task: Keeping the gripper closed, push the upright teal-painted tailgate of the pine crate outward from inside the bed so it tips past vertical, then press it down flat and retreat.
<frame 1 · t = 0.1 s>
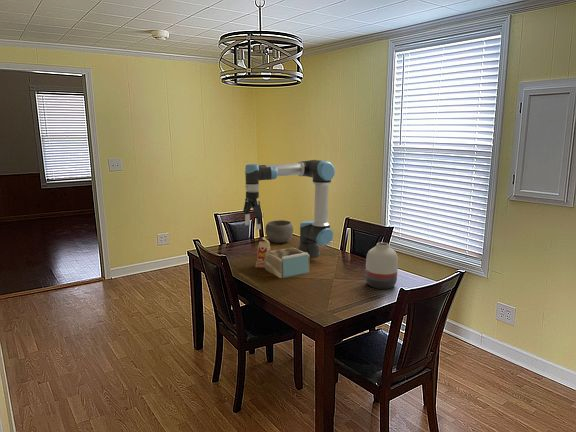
hand: (252, 227, 250), 28 cm above the table, fingers open, 13 cm apart
vase: (380, 285, 235), on the table
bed: (287, 272, 256), on the table
milk carton: (264, 267, 266), on the table
tailgate: (295, 265, 247), point 7 cm above the table, hinge at -5.0°
bowl: (279, 241, 325), on the table
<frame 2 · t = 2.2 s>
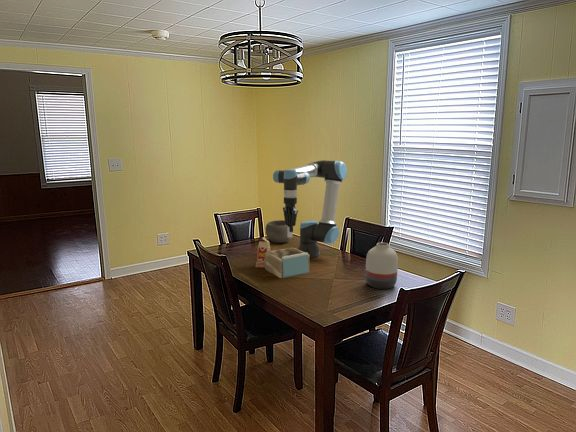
hand: (290, 237, 248), 23 cm above the table, fingers closed
nothing on the table moved.
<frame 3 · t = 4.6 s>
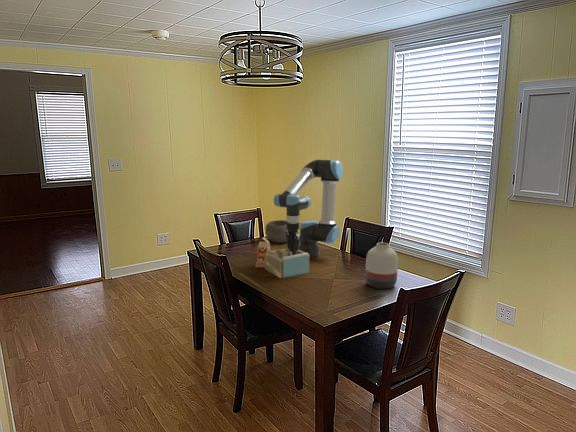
hand: (292, 261, 249), 9 cm above the table, fingers closed
tailgate: (295, 265, 247), point 7 cm above the table, hinge at -2.4°, touching gripper
everything else where it was.
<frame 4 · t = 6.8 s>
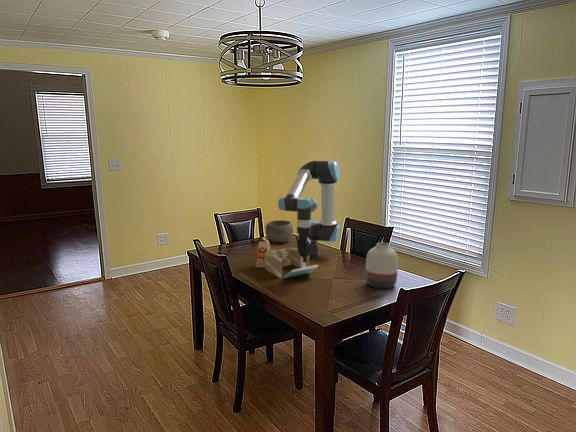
hand: (303, 267, 239), 8 cm above the table, fingers closed
tailgate: (300, 271, 243), point 5 cm above the table, hinge at 53.4°, touching gripper
everything else where it was.
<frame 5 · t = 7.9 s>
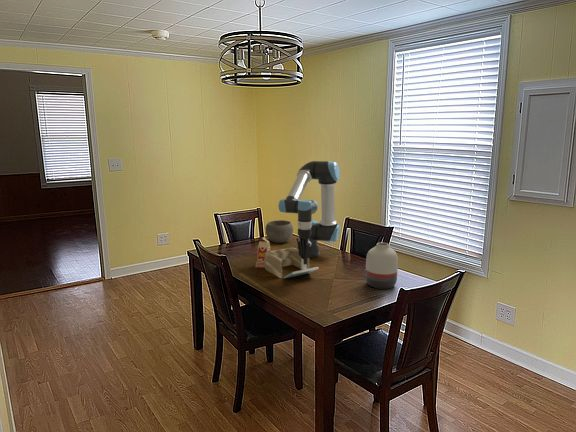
hand: (304, 269, 239), 7 cm above the table, fingers closed
tailgate: (300, 272, 243), point 4 cm above the table, hinge at 59.4°, touching gripper
everything else where it was.
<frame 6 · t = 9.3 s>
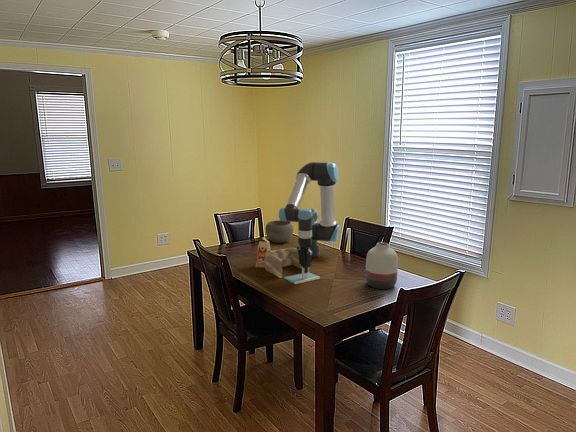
hand: (304, 277, 240), 3 cm above the table, fingers closed
tailgate: (301, 277, 243), point 2 cm above the table, hinge at 86.5°, touching gripper
everything else where it was.
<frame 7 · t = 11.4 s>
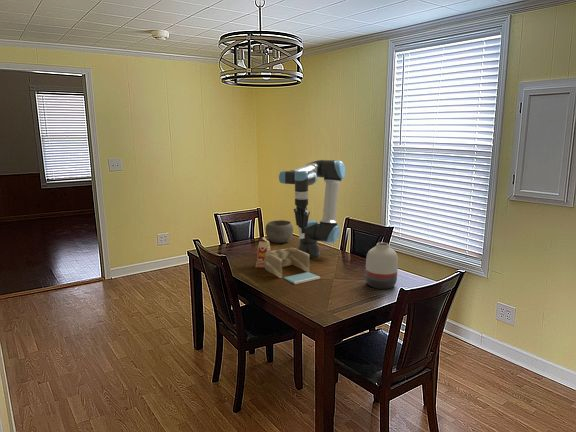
hand: (301, 238, 247), 22 cm above the table, fingers closed
tailgate: (301, 277, 243), point 2 cm above the table, hinge at 86.5°
everything else where it was.
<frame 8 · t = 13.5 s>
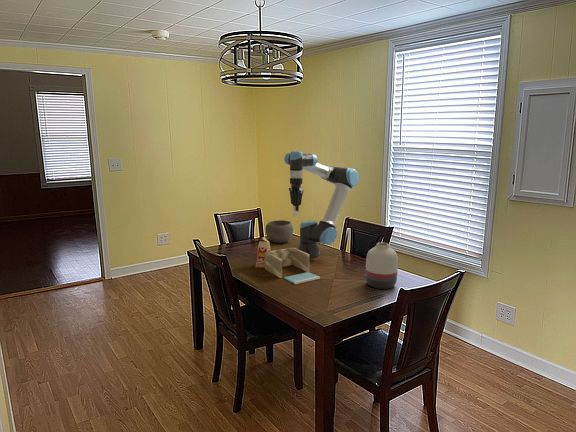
hand: (295, 216, 259), 32 cm above the table, fingers closed
nothing on the table moved.
at the end: tailgate at +86° (first picture: -5°) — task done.
